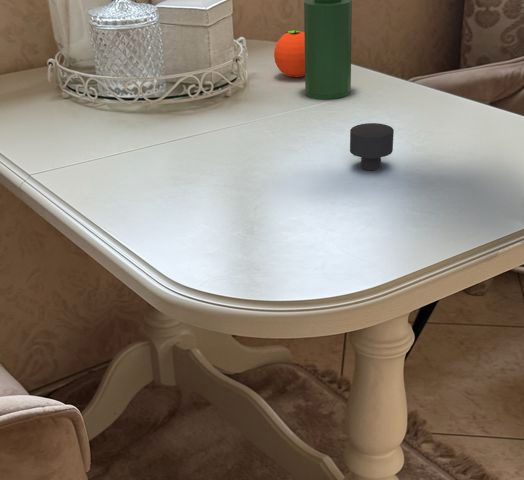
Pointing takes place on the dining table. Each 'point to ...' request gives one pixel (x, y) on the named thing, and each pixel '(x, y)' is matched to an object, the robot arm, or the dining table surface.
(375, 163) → the bung
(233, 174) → the dining table surface
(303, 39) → the clementine
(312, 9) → the bottle
